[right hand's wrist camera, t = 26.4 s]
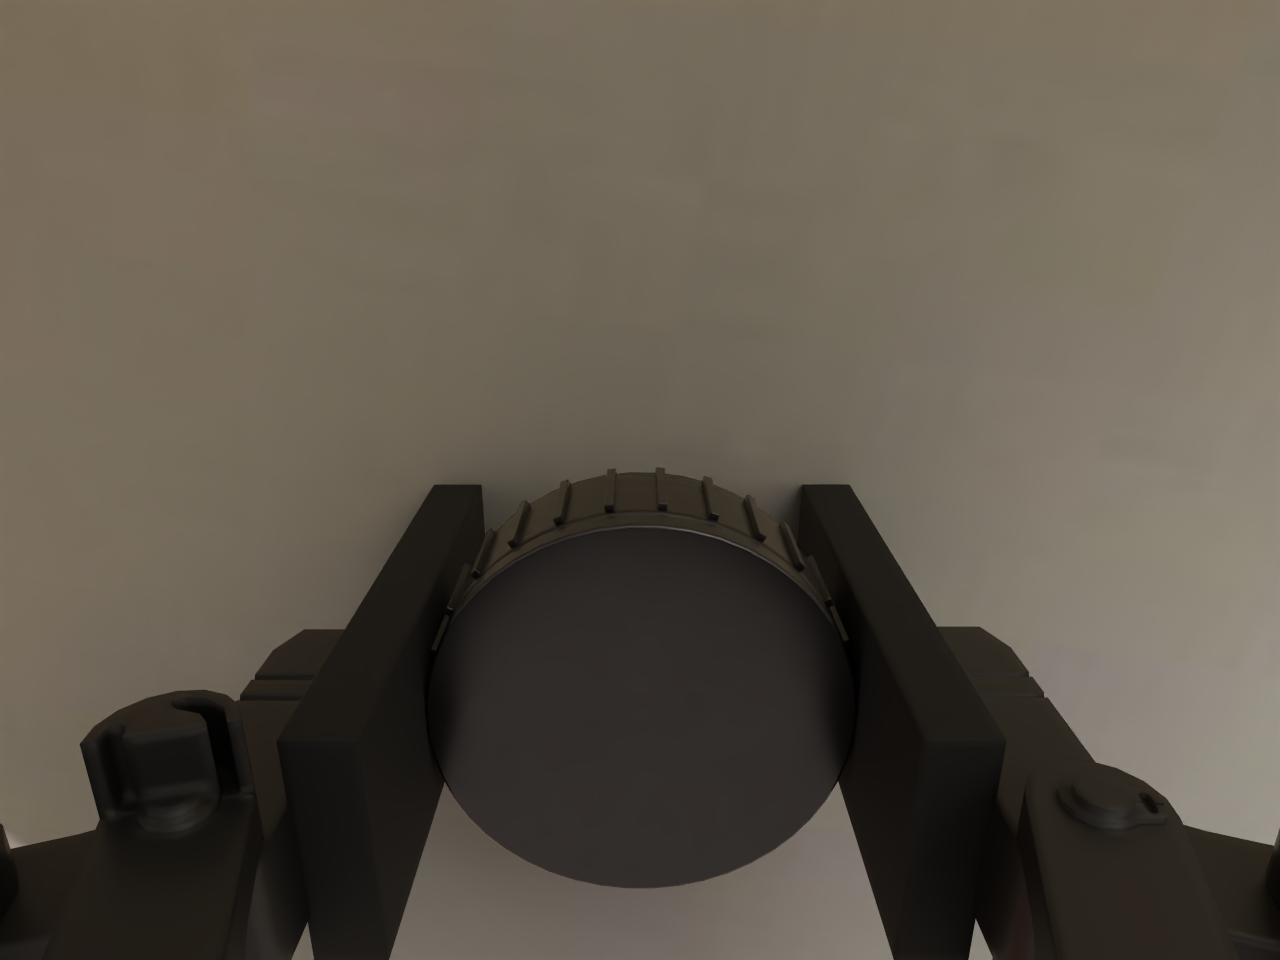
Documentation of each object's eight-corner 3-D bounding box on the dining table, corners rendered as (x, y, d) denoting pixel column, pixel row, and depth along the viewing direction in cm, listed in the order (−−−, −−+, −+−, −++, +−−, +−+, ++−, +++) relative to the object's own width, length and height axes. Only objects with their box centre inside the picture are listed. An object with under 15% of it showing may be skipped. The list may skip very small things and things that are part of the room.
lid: (778, 411, 11) (802, 457, 9) (872, 747, 13) (907, 835, 11) (386, 532, 12) (344, 595, 10) (528, 837, 13) (513, 934, 12)
